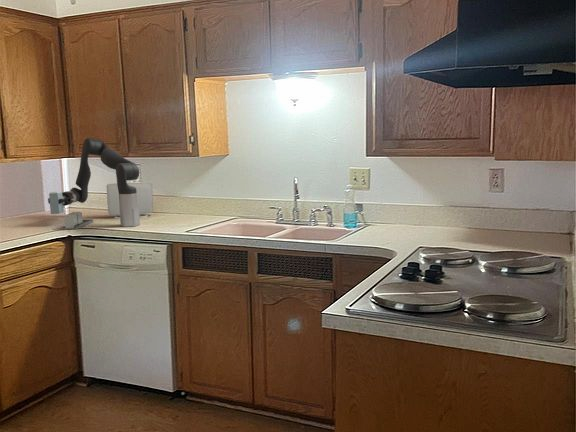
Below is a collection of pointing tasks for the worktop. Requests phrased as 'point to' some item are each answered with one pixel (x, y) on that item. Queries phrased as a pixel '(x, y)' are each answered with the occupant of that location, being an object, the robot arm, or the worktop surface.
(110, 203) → the network device
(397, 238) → the worktop surface
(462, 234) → the worktop surface
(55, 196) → the block
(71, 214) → the rail
